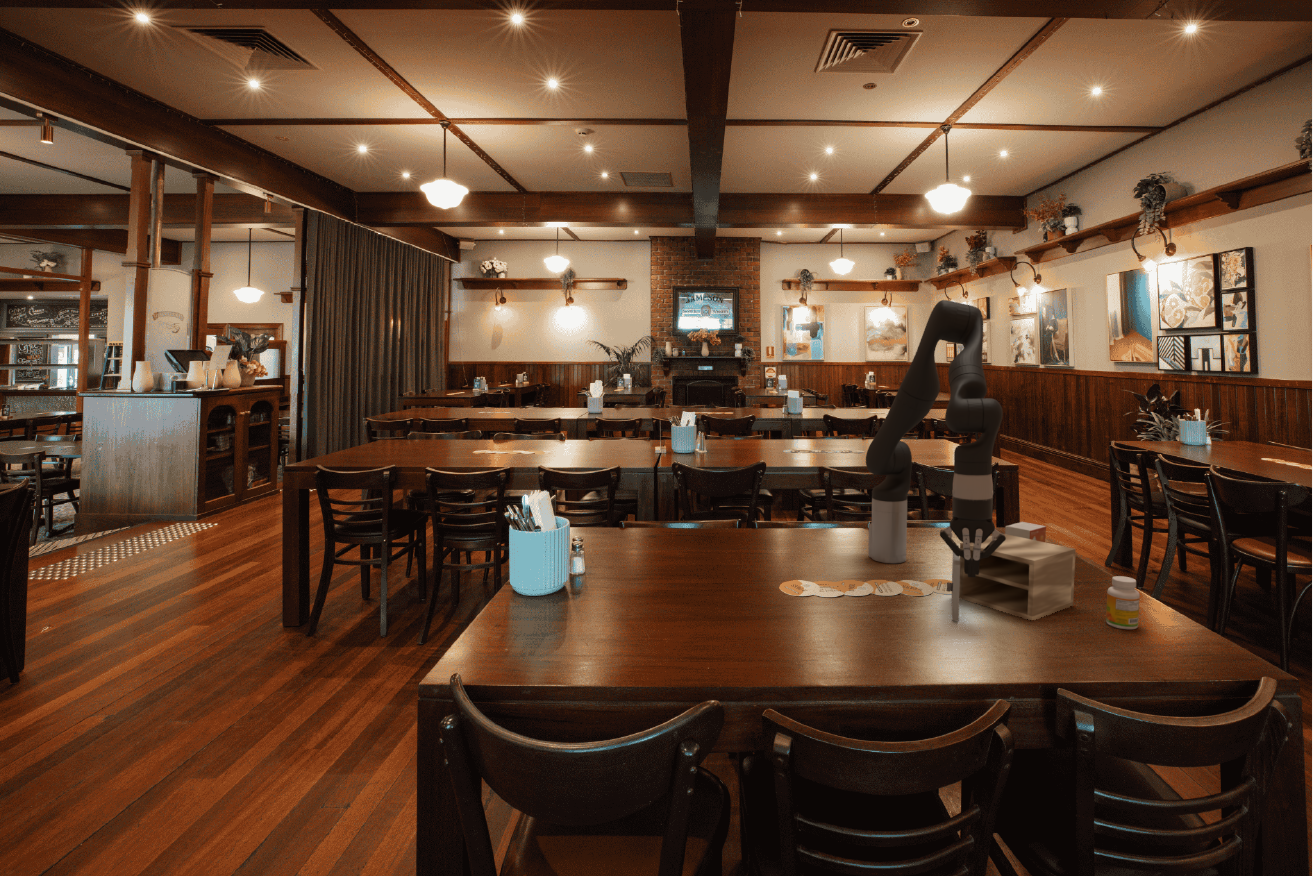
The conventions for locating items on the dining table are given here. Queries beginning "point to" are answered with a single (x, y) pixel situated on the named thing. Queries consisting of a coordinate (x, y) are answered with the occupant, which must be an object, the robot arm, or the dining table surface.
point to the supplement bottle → (1123, 603)
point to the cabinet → (1022, 578)
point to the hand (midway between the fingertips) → (971, 576)
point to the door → (955, 587)
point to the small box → (1027, 531)
